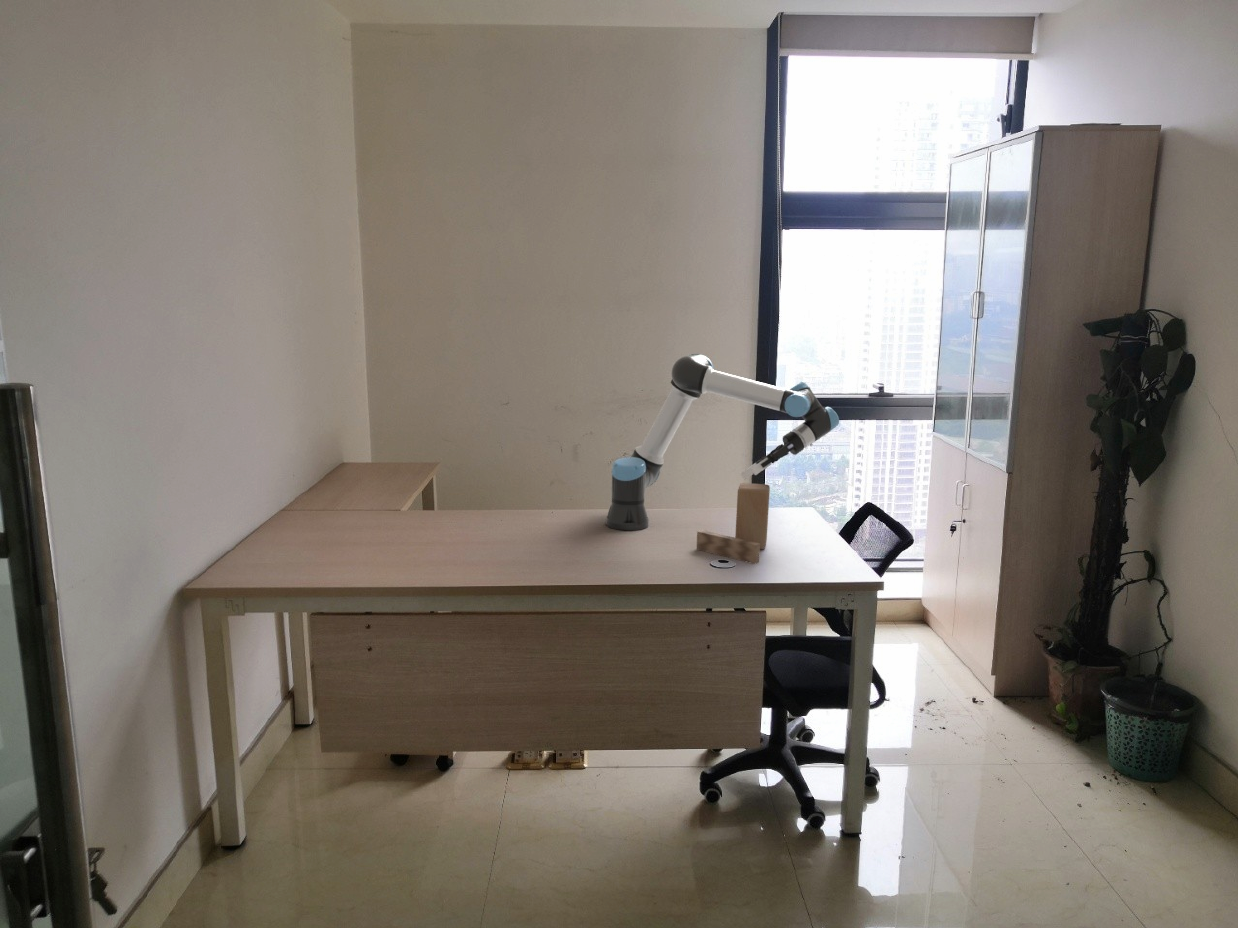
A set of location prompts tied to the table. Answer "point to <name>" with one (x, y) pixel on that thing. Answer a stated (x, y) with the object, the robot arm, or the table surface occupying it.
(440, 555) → the table surface
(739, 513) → the block
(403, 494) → the table surface
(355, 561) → the table surface
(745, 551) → the board
